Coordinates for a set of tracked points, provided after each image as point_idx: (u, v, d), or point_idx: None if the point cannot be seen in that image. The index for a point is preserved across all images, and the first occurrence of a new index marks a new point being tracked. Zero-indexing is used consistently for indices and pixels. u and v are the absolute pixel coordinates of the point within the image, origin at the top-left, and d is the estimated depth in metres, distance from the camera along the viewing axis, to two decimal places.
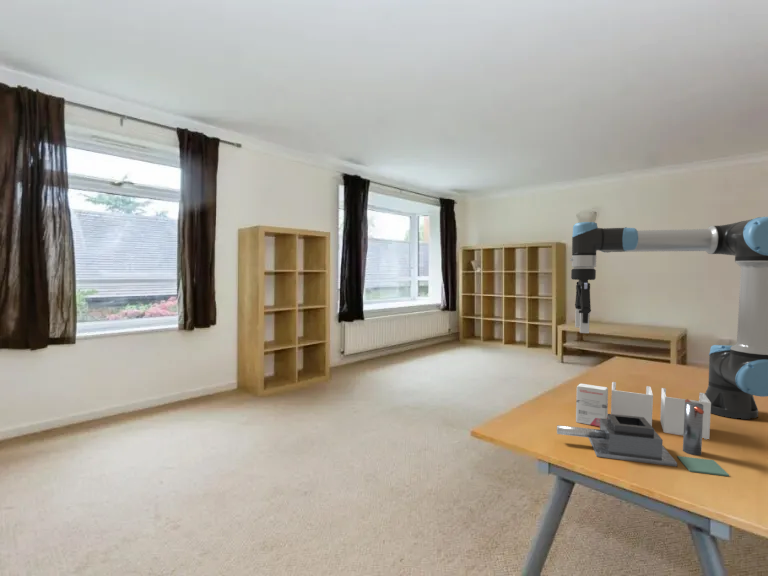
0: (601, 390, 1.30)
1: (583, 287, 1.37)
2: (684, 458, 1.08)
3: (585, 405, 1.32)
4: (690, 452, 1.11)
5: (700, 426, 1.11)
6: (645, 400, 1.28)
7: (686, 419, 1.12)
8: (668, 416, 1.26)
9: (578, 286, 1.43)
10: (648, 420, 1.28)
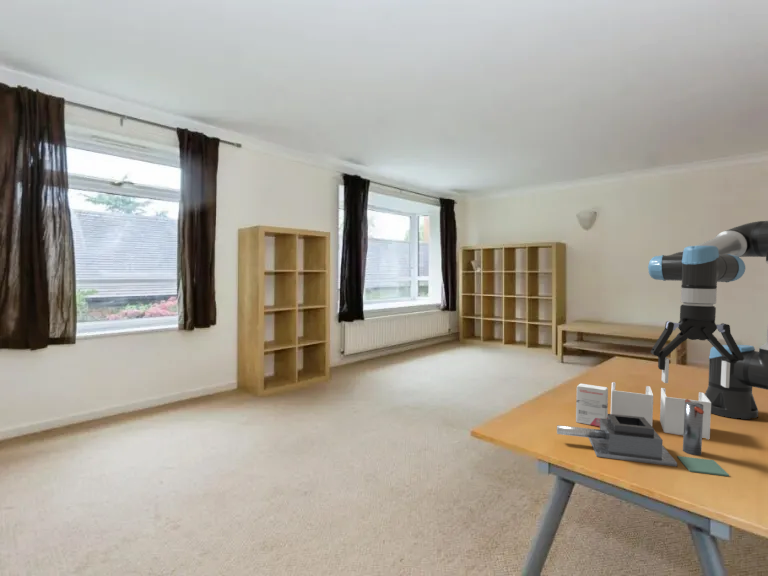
0: (601, 390, 1.30)
1: (665, 326, 1.14)
2: (684, 458, 1.08)
3: (585, 405, 1.32)
4: (690, 452, 1.11)
5: (700, 426, 1.11)
6: (645, 400, 1.28)
7: (686, 419, 1.12)
8: (668, 416, 1.26)
9: None
10: (648, 420, 1.28)
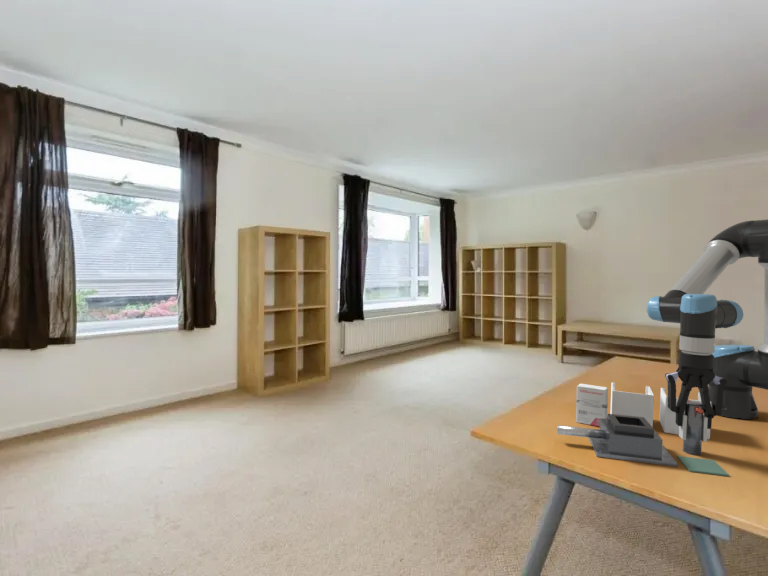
0: (601, 390, 1.30)
1: (667, 379, 1.14)
2: (684, 458, 1.08)
3: (585, 405, 1.32)
4: (690, 452, 1.11)
5: (700, 426, 1.11)
6: (646, 400, 1.28)
7: None
8: (669, 416, 1.26)
9: None
10: (649, 420, 1.28)
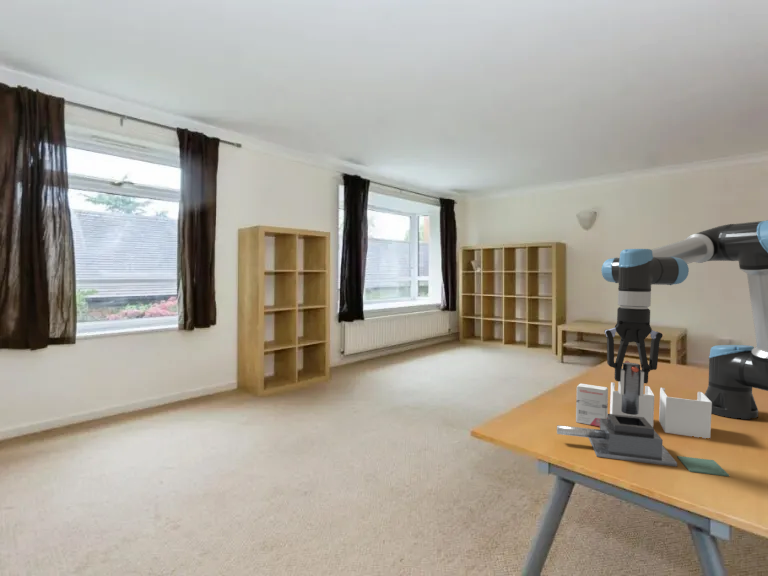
0: (601, 390, 1.30)
1: (606, 335, 1.15)
2: (684, 458, 1.08)
3: (585, 405, 1.32)
4: (627, 412, 1.12)
5: (637, 385, 1.11)
6: (646, 400, 1.28)
7: (624, 378, 1.12)
8: (669, 416, 1.26)
9: None
10: (649, 420, 1.28)
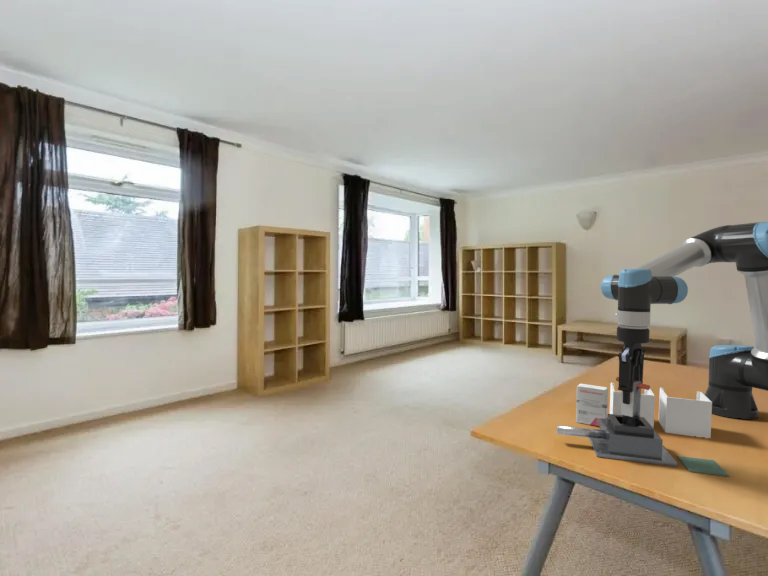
0: (601, 390, 1.30)
1: (621, 359, 1.09)
2: (684, 458, 1.08)
3: (585, 405, 1.32)
4: None
5: None
6: (647, 401, 1.28)
7: None
8: (670, 416, 1.26)
9: (623, 351, 1.12)
10: (650, 420, 1.28)
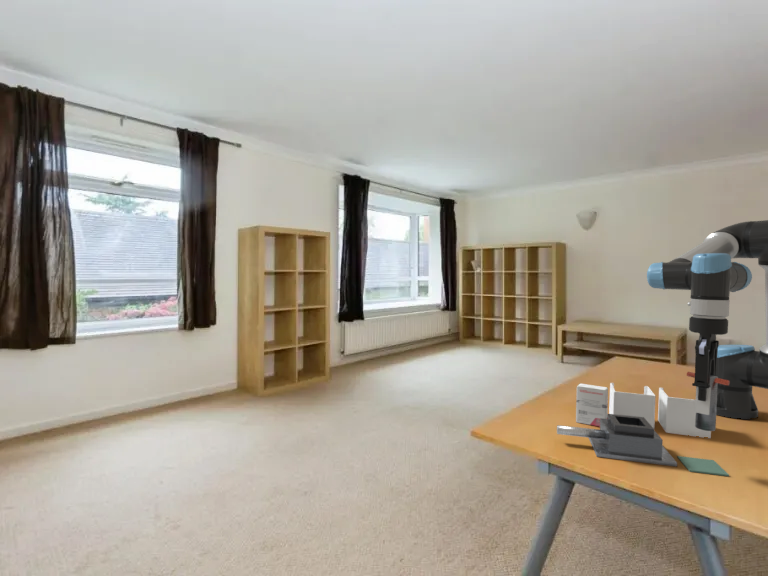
0: (601, 390, 1.30)
1: (698, 352, 0.99)
2: (684, 458, 1.08)
3: (585, 405, 1.32)
4: (710, 429, 1.02)
5: (716, 398, 1.02)
6: (648, 401, 1.28)
7: None
8: (670, 416, 1.26)
9: (697, 343, 1.03)
10: (651, 421, 1.28)
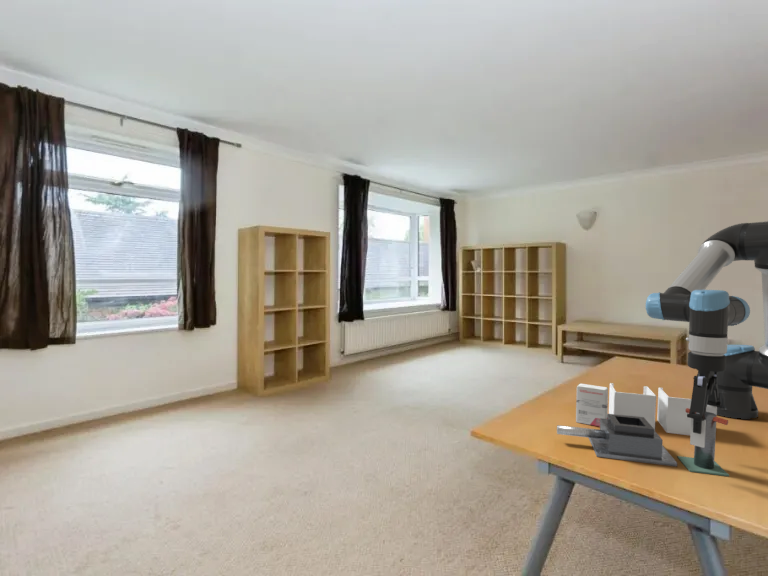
0: (601, 390, 1.30)
1: (696, 383, 0.99)
2: (684, 458, 1.08)
3: (585, 405, 1.32)
4: (709, 467, 1.02)
5: (715, 436, 1.03)
6: (648, 401, 1.27)
7: None
8: (671, 416, 1.26)
9: None
10: (651, 421, 1.27)
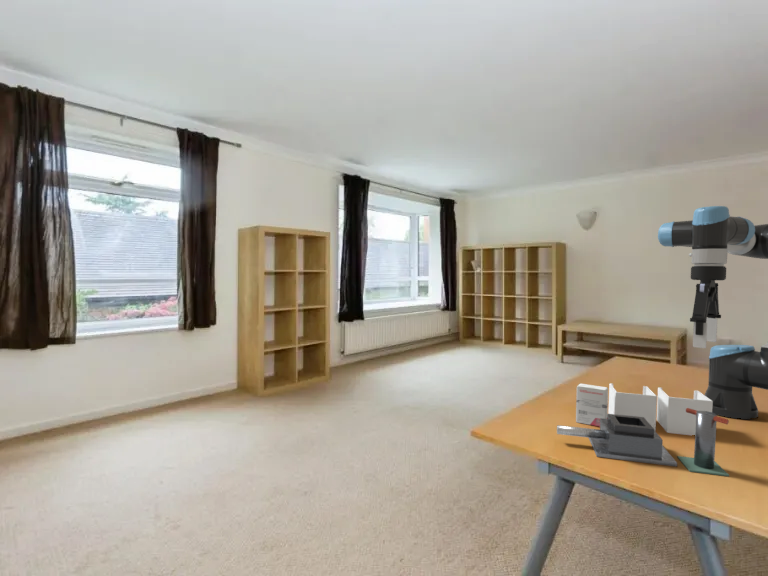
0: (601, 390, 1.30)
1: (698, 289, 1.08)
2: (684, 458, 1.08)
3: (585, 405, 1.32)
4: (709, 466, 1.02)
5: (715, 436, 1.03)
6: (649, 401, 1.27)
7: (704, 431, 1.02)
8: (671, 416, 1.26)
9: None
10: (652, 421, 1.27)
